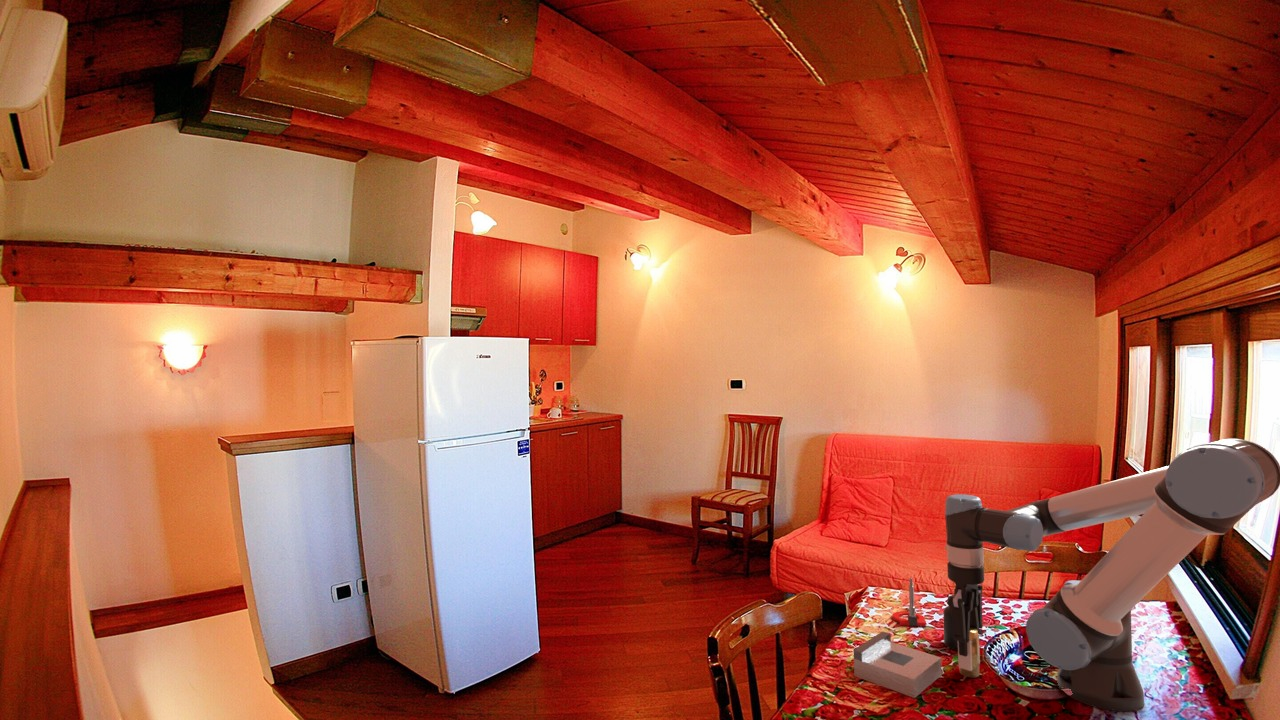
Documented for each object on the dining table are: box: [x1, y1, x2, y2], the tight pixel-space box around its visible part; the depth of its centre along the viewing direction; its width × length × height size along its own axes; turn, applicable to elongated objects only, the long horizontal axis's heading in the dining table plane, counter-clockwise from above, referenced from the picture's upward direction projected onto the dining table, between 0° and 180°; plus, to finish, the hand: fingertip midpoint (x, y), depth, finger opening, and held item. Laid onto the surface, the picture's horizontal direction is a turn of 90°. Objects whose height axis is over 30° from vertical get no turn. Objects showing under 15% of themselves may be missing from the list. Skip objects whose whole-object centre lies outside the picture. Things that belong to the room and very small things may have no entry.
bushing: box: [959, 627, 980, 679], centre depth 148 cm, size 4×4×10 cm
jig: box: [853, 630, 943, 699], centre depth 148 cm, size 14×14×6 cm
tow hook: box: [891, 577, 927, 627], centre depth 179 cm, size 8×13×9 cm
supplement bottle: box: [943, 594, 958, 651], centre depth 162 cm, size 7×7×12 cm
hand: (969, 665), depth 148 cm, fingers closed on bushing, 4 cm apart
